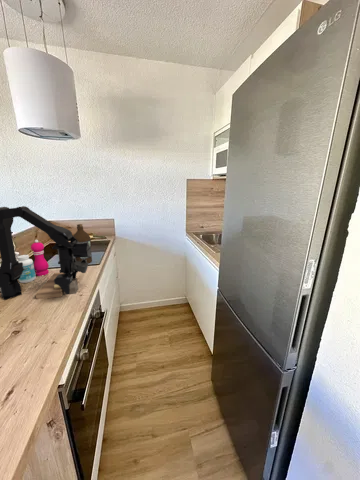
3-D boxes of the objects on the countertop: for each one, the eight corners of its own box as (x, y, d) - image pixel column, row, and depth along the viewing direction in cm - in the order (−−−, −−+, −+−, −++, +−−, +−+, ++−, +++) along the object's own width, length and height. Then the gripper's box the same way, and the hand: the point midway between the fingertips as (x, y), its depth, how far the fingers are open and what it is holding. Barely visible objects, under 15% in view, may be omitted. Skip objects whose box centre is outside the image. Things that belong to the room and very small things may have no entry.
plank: (61, 296, 94) (60, 291, 93) (36, 299, 92) (35, 293, 91) (74, 275, 116) (74, 271, 115) (55, 277, 114) (54, 272, 113)
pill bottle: (16, 284, 105) (10, 259, 102) (22, 278, 112) (17, 254, 109) (33, 282, 107) (28, 257, 104) (38, 276, 114) (34, 253, 111)
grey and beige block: (76, 293, 97) (74, 281, 95) (55, 295, 95) (53, 283, 93) (78, 289, 100) (76, 278, 99) (58, 291, 99) (56, 279, 97)
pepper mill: (52, 271, 121) (47, 238, 116) (43, 276, 114) (37, 241, 109) (41, 271, 122) (35, 237, 116) (31, 276, 115) (24, 241, 109)
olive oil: (72, 262, 136) (67, 224, 129) (89, 258, 143) (84, 222, 136) (79, 266, 128) (73, 226, 122) (95, 262, 136) (91, 224, 129)
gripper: (80, 263, 86) (84, 297, 90) (89, 250, 104) (92, 279, 108) (50, 265, 84) (56, 300, 88) (65, 251, 102) (69, 281, 106)
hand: (70, 289), depth 98 cm, fingers open, 9 cm apart
